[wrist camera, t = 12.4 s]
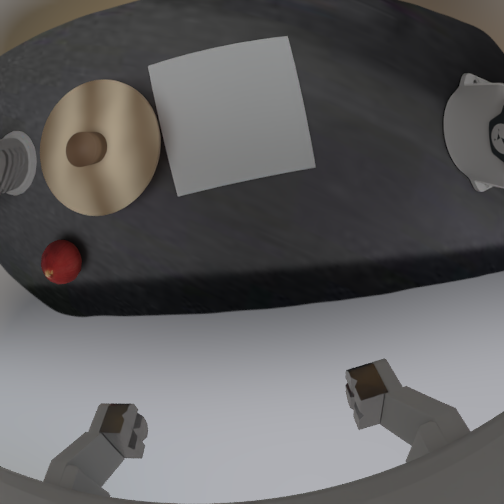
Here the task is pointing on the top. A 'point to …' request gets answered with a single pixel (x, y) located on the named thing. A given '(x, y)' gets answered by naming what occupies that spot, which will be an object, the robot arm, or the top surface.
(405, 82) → the top surface
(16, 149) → the french press
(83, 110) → the lid
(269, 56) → the mat
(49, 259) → the pomegranate
